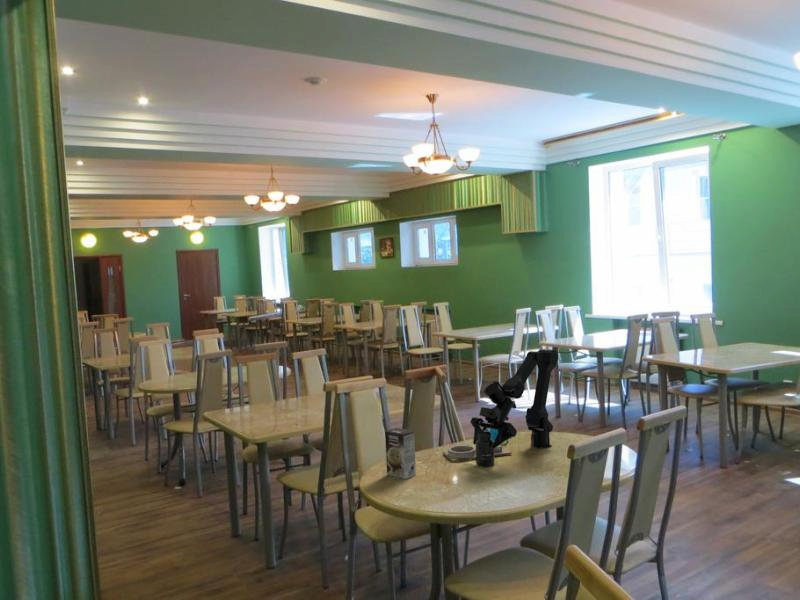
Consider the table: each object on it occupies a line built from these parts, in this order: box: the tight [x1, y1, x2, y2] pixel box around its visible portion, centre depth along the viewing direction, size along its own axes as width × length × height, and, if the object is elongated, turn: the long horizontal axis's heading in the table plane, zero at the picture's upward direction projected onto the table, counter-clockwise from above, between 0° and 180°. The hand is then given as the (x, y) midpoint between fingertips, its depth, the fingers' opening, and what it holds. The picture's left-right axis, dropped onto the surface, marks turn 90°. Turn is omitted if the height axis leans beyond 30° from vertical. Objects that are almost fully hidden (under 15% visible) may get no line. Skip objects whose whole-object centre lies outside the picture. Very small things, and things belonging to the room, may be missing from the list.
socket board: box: [442, 444, 512, 463], centre depth 260 cm, size 24×12×3 cm, turn 105°
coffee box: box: [384, 427, 417, 480], centre depth 238 cm, size 9×6×16 cm
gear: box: [484, 428, 510, 443], centre depth 277 cm, size 11×6×10 cm
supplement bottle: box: [475, 431, 496, 468], centre depth 245 cm, size 7×7×12 cm
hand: (483, 445), depth 245 cm, fingers open, 9 cm apart
